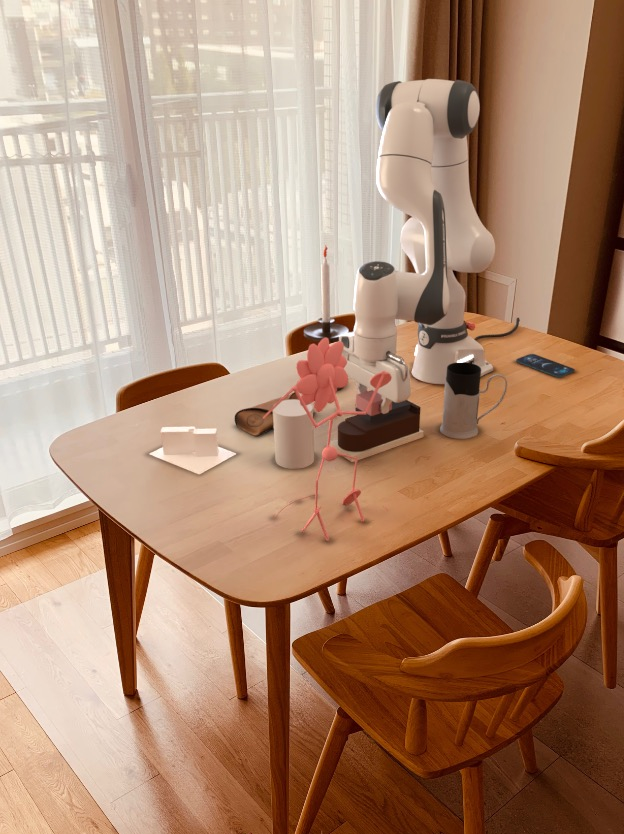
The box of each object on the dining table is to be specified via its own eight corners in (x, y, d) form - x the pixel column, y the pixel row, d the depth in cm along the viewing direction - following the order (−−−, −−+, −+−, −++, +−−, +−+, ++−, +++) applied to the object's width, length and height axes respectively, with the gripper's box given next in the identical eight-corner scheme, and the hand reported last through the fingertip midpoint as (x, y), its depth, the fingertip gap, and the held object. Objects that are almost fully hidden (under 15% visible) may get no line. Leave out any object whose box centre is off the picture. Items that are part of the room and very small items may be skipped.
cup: (297, 446, 174) (295, 396, 168) (322, 460, 169) (320, 408, 163) (267, 458, 169) (264, 407, 163) (292, 472, 165) (289, 420, 158)
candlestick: (352, 392, 199) (353, 249, 181) (309, 395, 197) (305, 251, 178) (343, 375, 208) (343, 237, 190) (302, 378, 206) (297, 239, 187)
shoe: (399, 423, 185) (400, 393, 181) (423, 437, 180) (425, 406, 176) (329, 447, 174) (328, 416, 170) (352, 462, 169) (352, 430, 165)
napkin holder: (147, 454, 170) (144, 430, 167) (186, 434, 178) (183, 411, 175) (199, 474, 163) (196, 450, 160) (237, 453, 171) (235, 429, 168)
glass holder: (438, 421, 187) (442, 360, 178) (499, 422, 187) (506, 361, 179) (441, 438, 179) (445, 376, 171) (504, 439, 179) (511, 377, 171)
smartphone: (559, 376, 209) (514, 359, 218) (558, 378, 210) (514, 361, 219) (576, 369, 214) (532, 353, 223) (576, 371, 214) (531, 355, 223)
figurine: (397, 506, 154) (404, 332, 136) (296, 562, 138) (288, 372, 120) (342, 478, 163) (341, 310, 144) (241, 527, 147) (225, 345, 128)
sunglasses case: (256, 436, 177) (245, 407, 176) (241, 441, 182) (230, 413, 181) (318, 412, 188) (308, 385, 187) (302, 418, 193) (292, 392, 192)
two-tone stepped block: (394, 400, 179) (395, 382, 176) (410, 408, 175) (411, 391, 173) (355, 412, 173) (355, 394, 170) (370, 421, 169) (370, 403, 167)
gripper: (419, 357, 159) (416, 420, 167) (357, 328, 173) (357, 387, 180) (394, 364, 156) (392, 428, 163) (334, 334, 169) (334, 394, 177)
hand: (373, 406), depth 172 cm, fingers closed on two-tone stepped block, 5 cm apart
